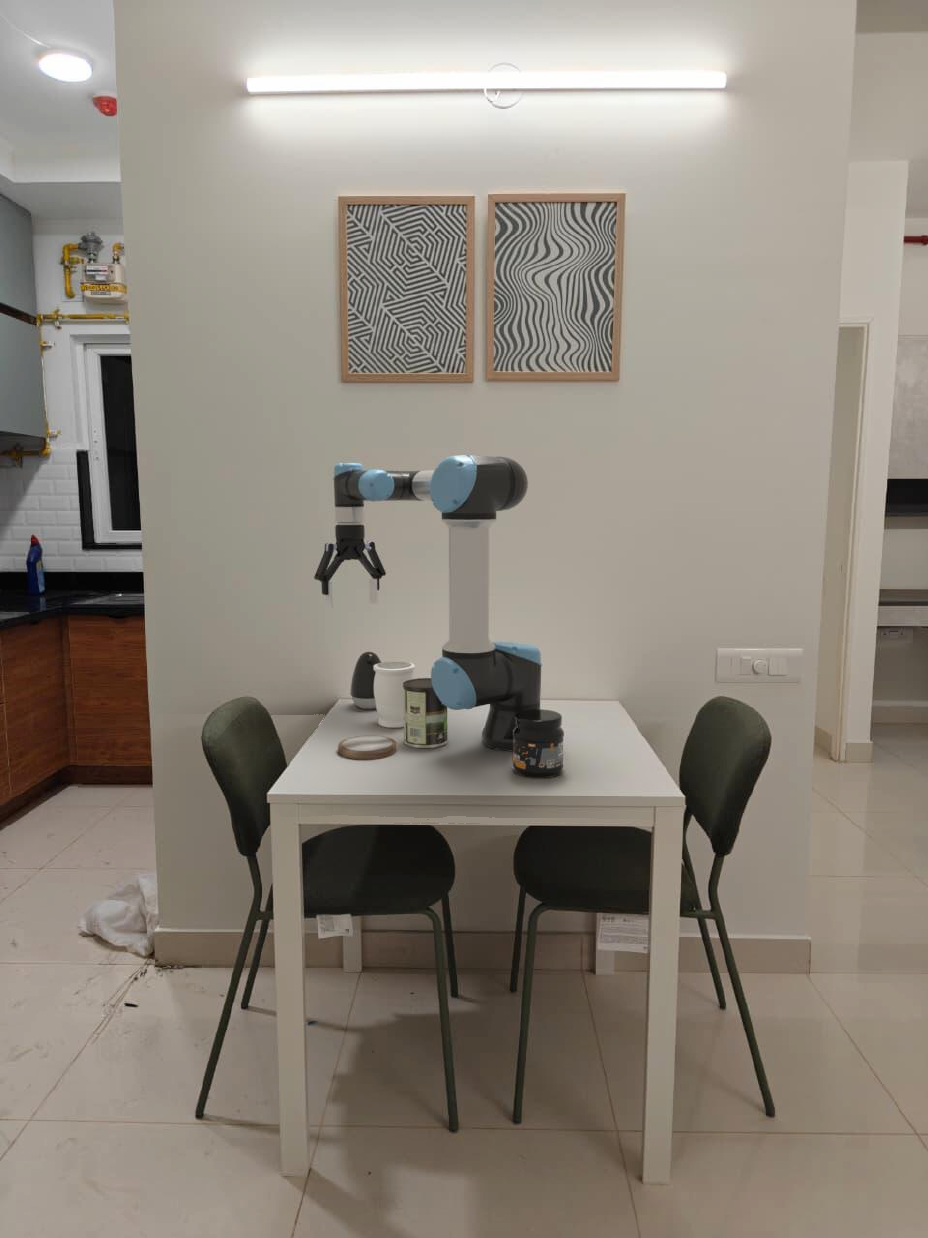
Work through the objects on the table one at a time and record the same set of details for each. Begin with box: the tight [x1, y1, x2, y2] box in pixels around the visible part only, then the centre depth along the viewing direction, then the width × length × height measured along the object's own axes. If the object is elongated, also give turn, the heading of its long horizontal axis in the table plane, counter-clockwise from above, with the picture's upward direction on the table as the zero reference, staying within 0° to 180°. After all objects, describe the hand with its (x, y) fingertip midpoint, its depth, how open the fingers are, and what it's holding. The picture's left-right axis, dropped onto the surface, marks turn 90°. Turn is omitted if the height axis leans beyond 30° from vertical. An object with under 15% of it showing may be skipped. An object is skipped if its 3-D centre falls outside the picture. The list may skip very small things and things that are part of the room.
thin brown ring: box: [337, 735, 398, 761], centre depth 183 cm, size 13×13×2 cm
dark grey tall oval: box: [349, 651, 382, 710], centre depth 220 cm, size 10×10×15 cm
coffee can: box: [403, 677, 449, 749], centre depth 188 cm, size 10×10×14 cm
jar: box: [374, 660, 416, 729], centre depth 203 cm, size 11×10×15 cm
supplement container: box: [512, 708, 565, 779], centre depth 169 cm, size 10×10×12 cm
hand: (351, 605), depth 215 cm, fingers open, 13 cm apart
